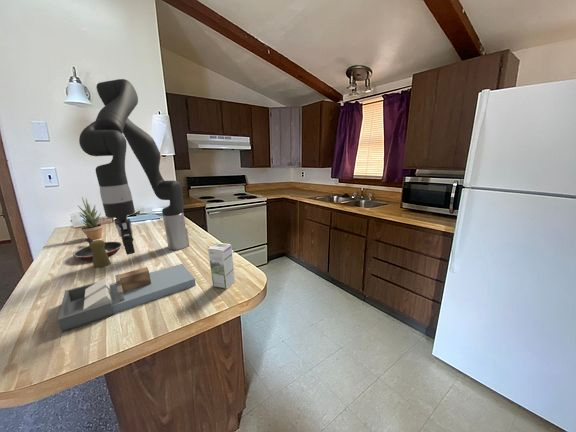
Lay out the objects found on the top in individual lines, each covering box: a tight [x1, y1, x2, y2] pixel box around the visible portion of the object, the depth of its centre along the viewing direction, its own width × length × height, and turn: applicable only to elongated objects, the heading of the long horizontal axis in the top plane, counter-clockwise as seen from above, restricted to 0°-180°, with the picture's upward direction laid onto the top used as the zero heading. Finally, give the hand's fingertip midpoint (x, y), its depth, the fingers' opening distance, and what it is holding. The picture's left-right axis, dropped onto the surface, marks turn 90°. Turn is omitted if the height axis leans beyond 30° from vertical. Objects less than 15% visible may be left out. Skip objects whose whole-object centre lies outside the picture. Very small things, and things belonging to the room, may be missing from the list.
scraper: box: [114, 266, 151, 301], centre depth 79 cm, size 9×14×5 cm, turn 38°
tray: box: [57, 278, 114, 334], centre depth 73 cm, size 11×18×4 cm, turn 38°
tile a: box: [83, 287, 113, 310], centre depth 71 cm, size 6×6×3 cm
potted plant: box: [77, 196, 104, 241], centre depth 135 cm, size 10×10×25 cm
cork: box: [88, 239, 112, 269], centre depth 102 cm, size 6×6×11 cm
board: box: [111, 263, 196, 314], centre depth 83 cm, size 24×16×2 cm, turn 128°
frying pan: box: [72, 237, 123, 261], centre depth 119 cm, size 19×32×4 cm, turn 50°
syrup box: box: [207, 242, 236, 290], centre depth 83 cm, size 6×6×14 cm
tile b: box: [85, 277, 112, 299], centre depth 77 cm, size 6×6×3 cm
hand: (129, 249), depth 77 cm, fingers open, 8 cm apart
